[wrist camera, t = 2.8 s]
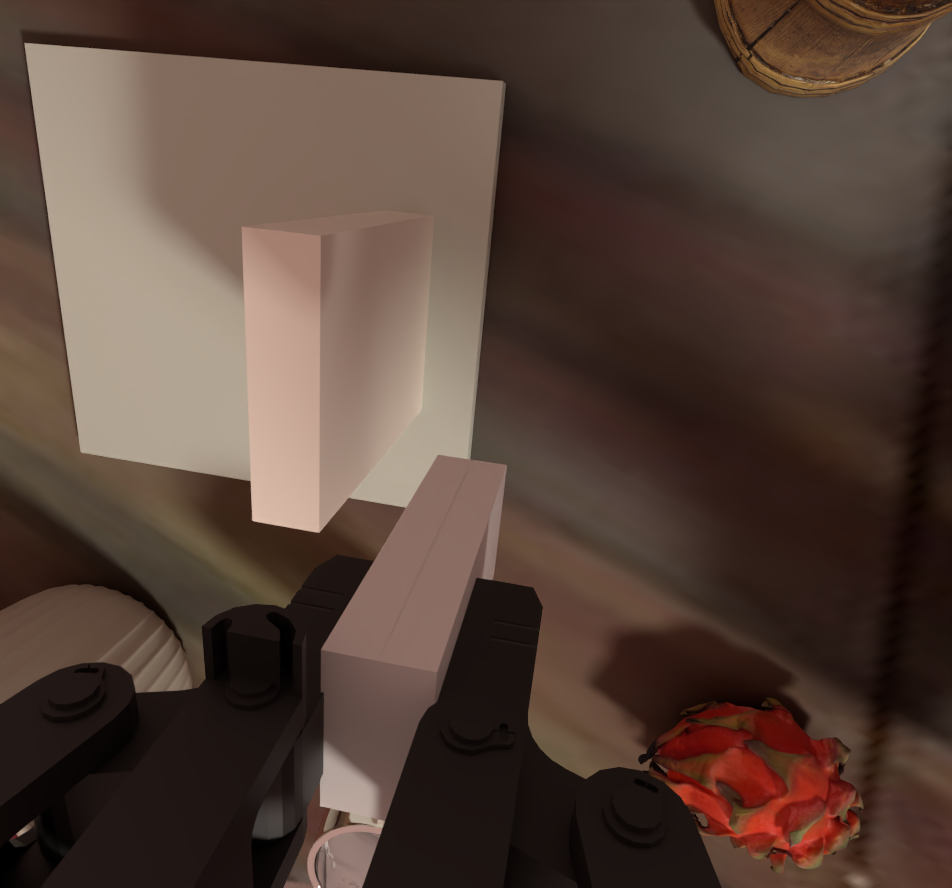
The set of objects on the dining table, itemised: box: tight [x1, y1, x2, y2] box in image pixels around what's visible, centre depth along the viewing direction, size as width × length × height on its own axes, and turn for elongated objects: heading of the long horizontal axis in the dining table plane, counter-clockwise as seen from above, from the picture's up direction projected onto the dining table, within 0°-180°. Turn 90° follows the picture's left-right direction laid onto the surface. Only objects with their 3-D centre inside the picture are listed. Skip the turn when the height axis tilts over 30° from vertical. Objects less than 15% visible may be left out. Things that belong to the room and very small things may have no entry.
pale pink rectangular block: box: [242, 210, 434, 533], centre depth 28 cm, size 3×10×14 cm, turn 175°
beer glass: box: [307, 808, 385, 888], centre depth 36 cm, size 7×7×15 cm
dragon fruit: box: [638, 698, 864, 873], centre depth 38 cm, size 8×8×12 cm
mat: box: [24, 43, 506, 507], centre depth 36 cm, size 24×22×1 cm
